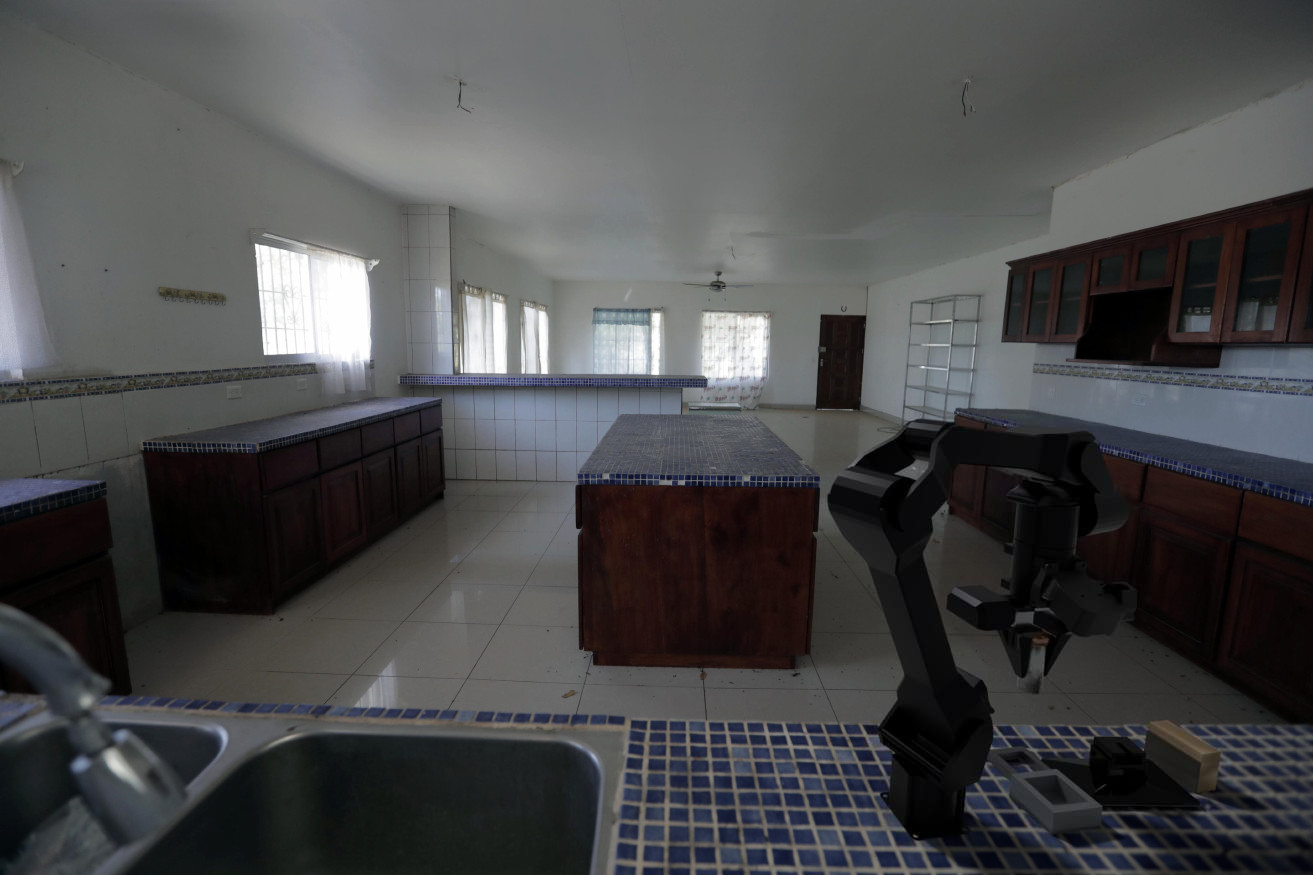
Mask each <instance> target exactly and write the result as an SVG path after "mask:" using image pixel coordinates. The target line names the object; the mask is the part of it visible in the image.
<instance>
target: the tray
mask: <svg viewBox="0 0 1313 875" xmlns="http://www.w3.org/2000/svg"><path fill="white" fill-rule="evenodd" d="M1009 783H1010V784H1009V793H1008V795H1009V797H1010V798H1011V799H1013V801H1014V802H1016V804H1017V805H1019V806H1020V807H1021V809H1023V811H1025V813H1027V814H1028V815H1029V816H1030V817H1031V818H1032V819H1033V820H1034V821H1035V822H1036V823H1037V824H1038V825H1039V826H1041V827H1042V828H1043V830H1045V831H1046V832H1047V833H1049V834H1050V836H1055V835H1060V834H1065V833H1072V832H1078V831H1084V830H1091V829H1097V828H1101V826H1102V818H1103V817H1102V816H1103V809H1104V808H1103V807H1104V806H1101V805H1100V804H1099V803H1098V802H1096V801H1095V800H1094V799H1093V798H1091V797H1090V796H1089V795H1088V794H1087V793H1085V792H1084V791H1083V790H1082V789H1080V788H1079V787H1078V786H1077V785H1076V784H1074V783H1073V782H1072V781H1071V780H1069V779H1068V778H1067V777H1066V776H1065V775H1063V774H1062V773H1061V772H1060V771H1058V770H1057V769H1052V770H1043V771H1035V770H1033V771H1028V772H1027V771H1026V772H1018V773H1017V774H1011V781H1009Z"/></svg>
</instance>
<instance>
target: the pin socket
mask: <svg viewBox="0 0 1313 875" xmlns="http://www.w3.org/2000/svg"><path fill="white" fill-rule="evenodd" d="M1013 760H1022V761H1024V762H1025V763H1026V764H1027V765H1028V766H1029V767H1031V769H1033V771H1043V770H1052V769H1050V768H1049V767H1048V766H1047V765H1046V764H1044V763H1043V762H1042V761H1041V759H1039V757H1037V756H1036V755H1035V754H1033V753H1032V752H1031V751H1030V750H1029V749H1028V748H1026V747H1025V746H1023V745H1022V746H1021V745H1020V746H1013V747H1001V748H994V749H991V748H990V751H989V754H988V757H987V760H986V761H988V762H989V763H990V764H992V765H993V767H994V768H995V769H997V770H998V771H999V772H1000V773H1001V774H1002V775H1003V776H1004V777H1005V778H1006V779H1007V780H1009V782H1011V774H1017V773H1019V772H1018V771H1017V770H1016V769H1015V768H1013V766H1011V765H1010V764H1009V762H1007V761H1013Z"/></svg>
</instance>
